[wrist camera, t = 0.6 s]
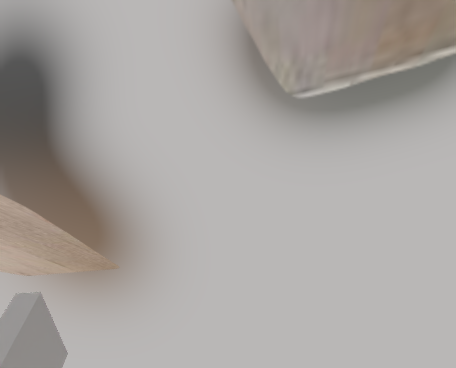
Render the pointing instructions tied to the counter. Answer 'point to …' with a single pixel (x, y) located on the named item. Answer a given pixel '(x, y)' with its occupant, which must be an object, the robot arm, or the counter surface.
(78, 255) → the counter surface
